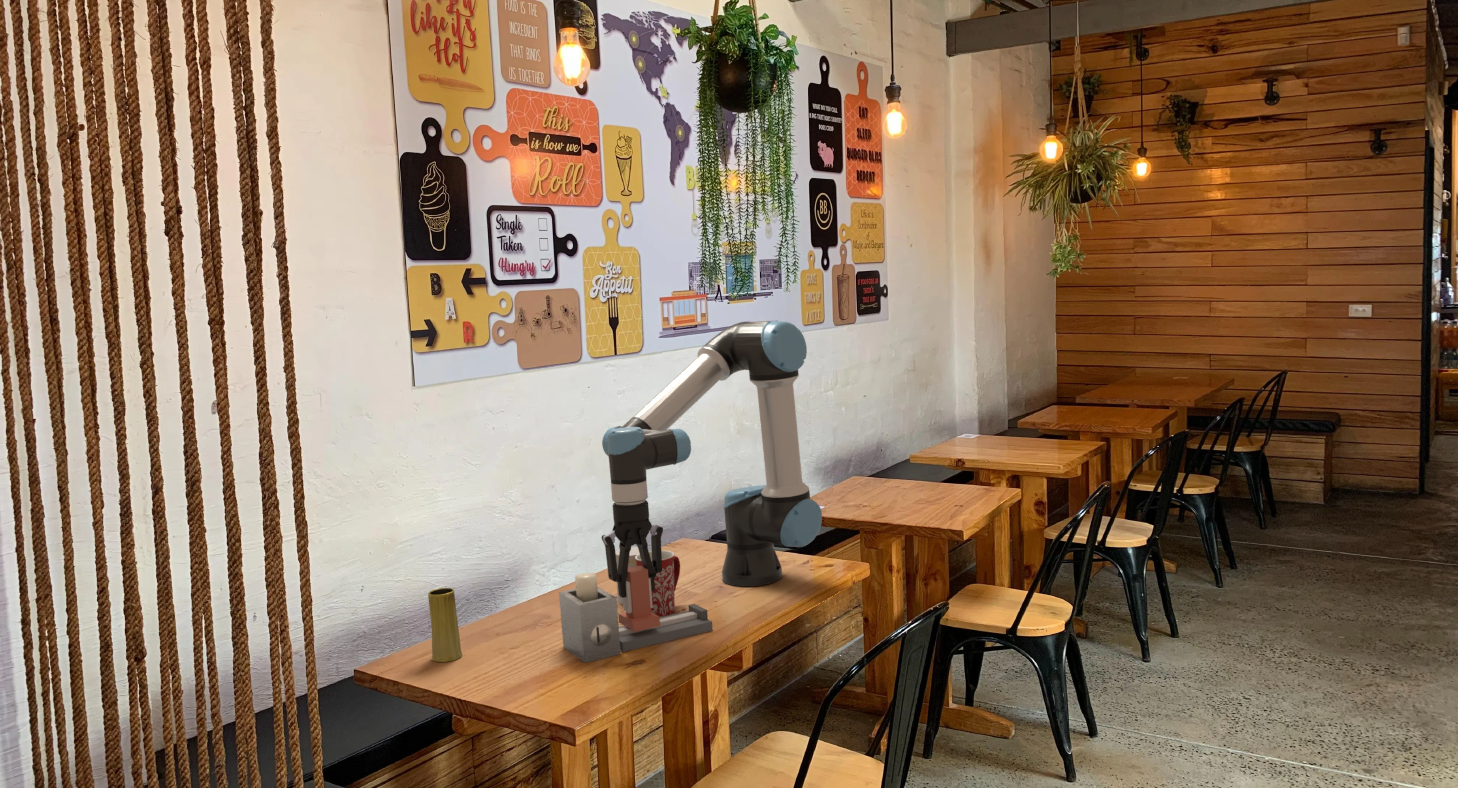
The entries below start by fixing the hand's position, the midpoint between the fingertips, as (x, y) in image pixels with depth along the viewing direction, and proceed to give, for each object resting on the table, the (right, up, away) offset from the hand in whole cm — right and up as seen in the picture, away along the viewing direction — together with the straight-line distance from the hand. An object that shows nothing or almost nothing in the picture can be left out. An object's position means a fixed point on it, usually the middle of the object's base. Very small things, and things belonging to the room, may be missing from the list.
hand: (638, 608), depth 227 cm
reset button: (-10, +3, -6) cm, 12 cm away
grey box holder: (-9, -8, -5) cm, 13 cm away
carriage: (0, -3, 0) cm, 3 cm away
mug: (+4, -5, +20) cm, 21 cm away
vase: (-40, -10, -3) cm, 41 cm away
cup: (-3, -4, +29) cm, 30 cm away
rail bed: (+4, -6, +3) cm, 8 cm away
